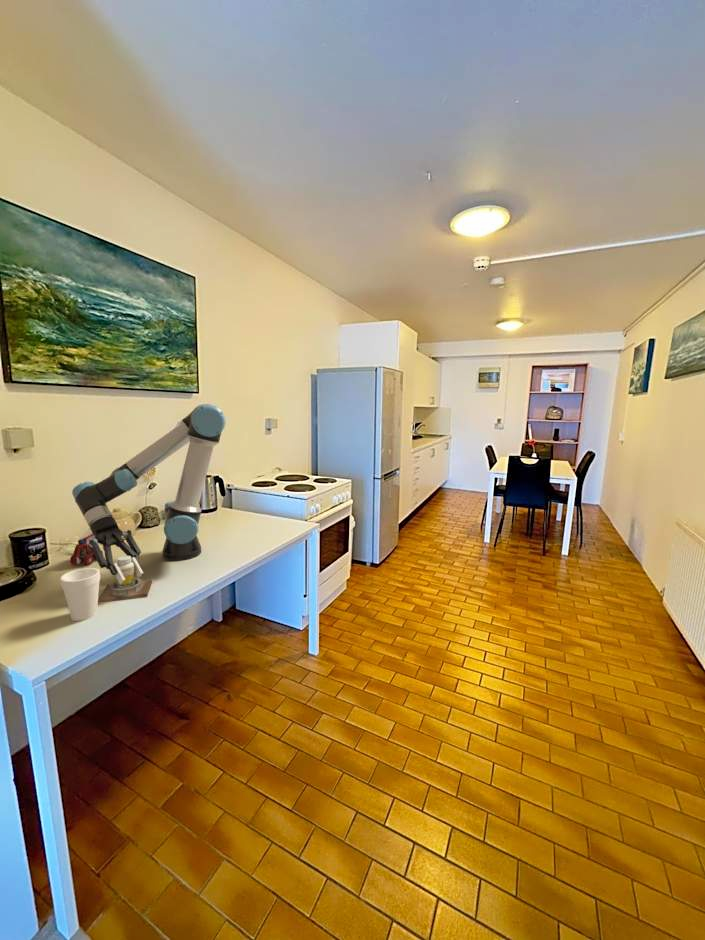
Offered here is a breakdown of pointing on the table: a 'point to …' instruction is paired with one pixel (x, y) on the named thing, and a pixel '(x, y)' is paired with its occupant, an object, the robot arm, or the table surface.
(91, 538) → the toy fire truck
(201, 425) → the robot arm
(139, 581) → the socket board
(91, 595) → the foam cup
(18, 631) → the table surface
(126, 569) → the supplement bottle
